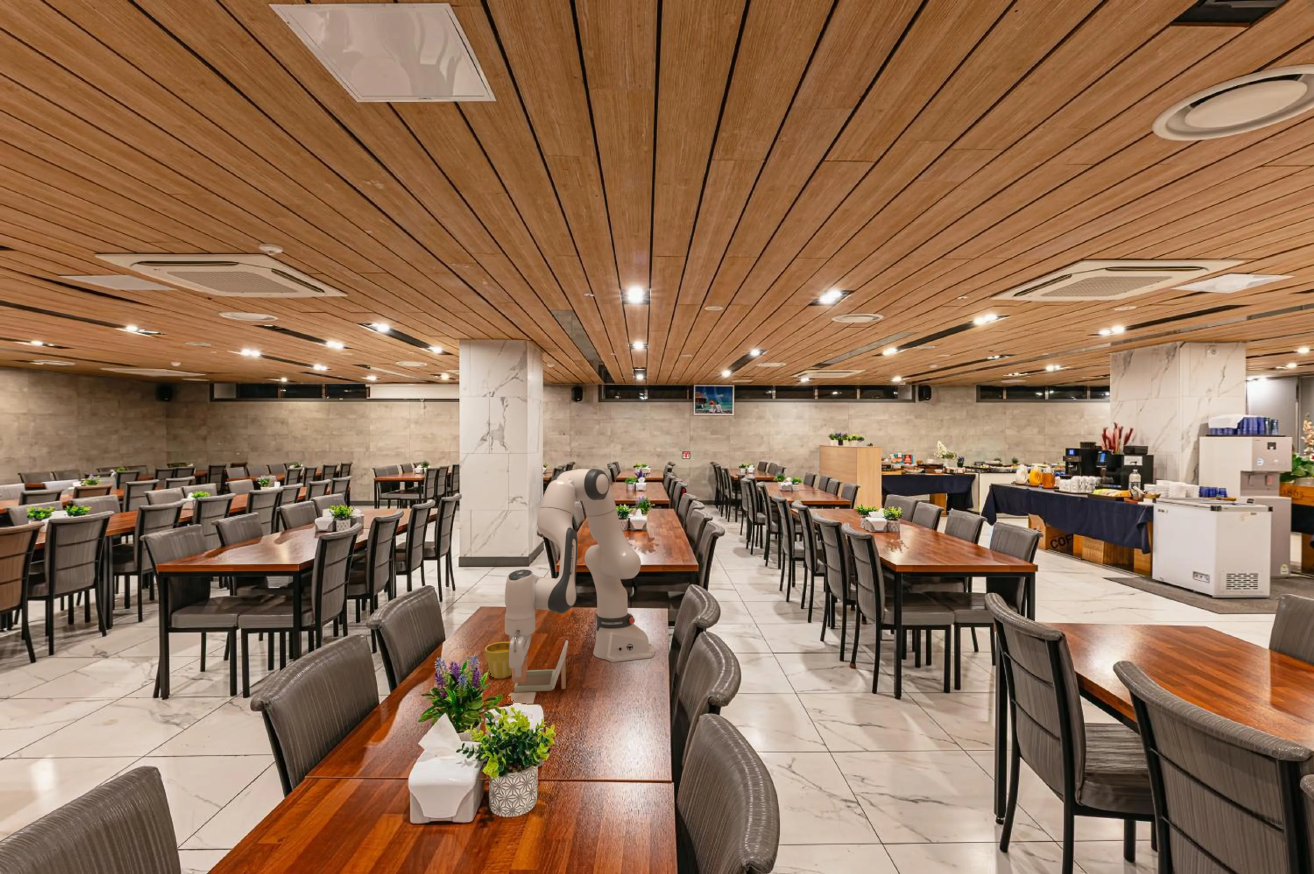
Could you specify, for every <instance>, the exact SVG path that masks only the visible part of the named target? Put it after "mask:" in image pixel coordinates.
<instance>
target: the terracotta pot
mask: <svg viewBox="0 0 1314 874" xmlns="http://www.w3.org/2000/svg"><path fill="white" fill-rule="evenodd" d="M528 660H529V655H528V653H527V654H526V657H525V659H524V662H523V665H522V675H521V677H515V669H514V668H512V674H511V682H512V683H514V684H515V683H523V682H525V681H527V671H528Z"/></svg>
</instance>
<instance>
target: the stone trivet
mask: <svg viewBox="0 0 1314 874" xmlns="http://www.w3.org/2000/svg"><path fill="white" fill-rule="evenodd" d="M509 693H510V694H509ZM509 693H508V695H507V697H508V696H511V701H513V700H514V701H513V703H526V704H525V705H534V701H535V698H536V695H537V691H528V692H509Z"/></svg>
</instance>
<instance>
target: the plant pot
mask: <svg viewBox="0 0 1314 874" xmlns="http://www.w3.org/2000/svg"><path fill="white" fill-rule="evenodd" d="M509 646H510V641H500V642H499V641H498V642H497V641H496V642H494V643H491V644H488V645H487V646H486V647H485V648H484V659H485V661H487V666H488V670H489V674H490V673H491V675H490V677H491V676H492V677H494V678H493V679H496V680H497V679H505V678H509V677H510V676H512V668H510V667H509ZM492 677H491V678H492Z"/></svg>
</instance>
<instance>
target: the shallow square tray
mask: <svg viewBox="0 0 1314 874" xmlns="http://www.w3.org/2000/svg"><path fill="white" fill-rule="evenodd" d="M555 670H556V668H554V669H530V670H529V669H527V681H525V682H523V683H514V686H513V693H523V692H547V691H549V692H550V691H553V689H552V685H553V680H554V675H555Z"/></svg>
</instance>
